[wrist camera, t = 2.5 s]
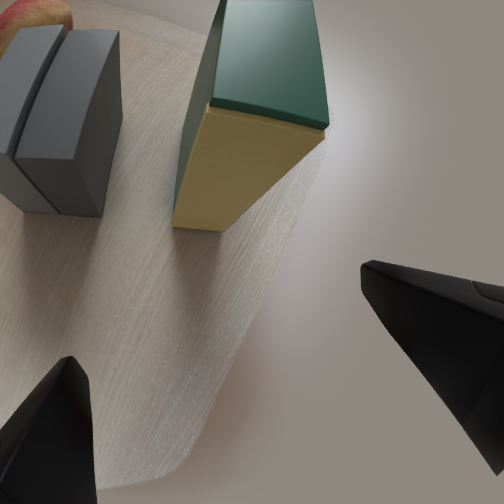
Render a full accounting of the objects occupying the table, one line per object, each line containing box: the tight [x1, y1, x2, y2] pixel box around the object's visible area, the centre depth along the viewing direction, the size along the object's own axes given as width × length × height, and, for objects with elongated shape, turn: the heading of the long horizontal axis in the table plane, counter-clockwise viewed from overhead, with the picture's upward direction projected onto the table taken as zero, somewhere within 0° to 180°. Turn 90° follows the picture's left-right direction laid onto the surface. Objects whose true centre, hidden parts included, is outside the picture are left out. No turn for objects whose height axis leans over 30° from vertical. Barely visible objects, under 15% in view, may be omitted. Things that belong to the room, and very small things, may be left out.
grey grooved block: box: [0, 25, 123, 218], centre depth 15 cm, size 8×6×10 cm
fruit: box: [0, 0, 73, 60], centre depth 15 cm, size 8×8×8 cm
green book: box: [171, 0, 329, 232], centre depth 15 cm, size 8×4×14 cm, turn 178°
